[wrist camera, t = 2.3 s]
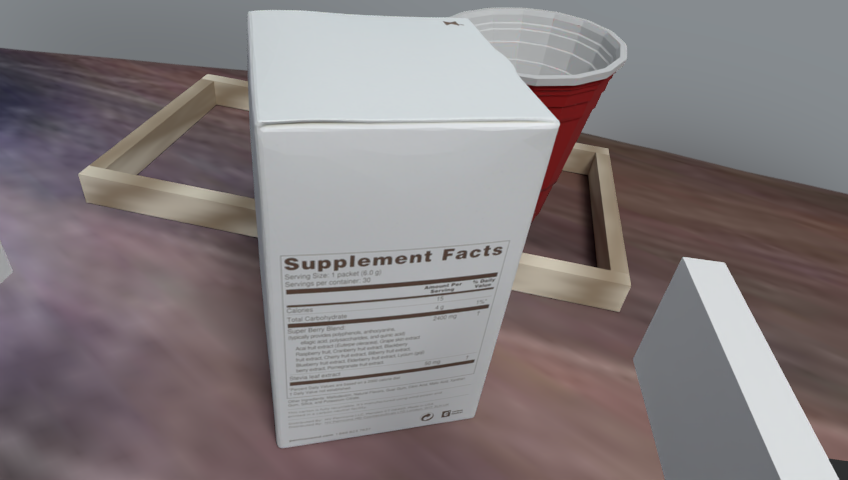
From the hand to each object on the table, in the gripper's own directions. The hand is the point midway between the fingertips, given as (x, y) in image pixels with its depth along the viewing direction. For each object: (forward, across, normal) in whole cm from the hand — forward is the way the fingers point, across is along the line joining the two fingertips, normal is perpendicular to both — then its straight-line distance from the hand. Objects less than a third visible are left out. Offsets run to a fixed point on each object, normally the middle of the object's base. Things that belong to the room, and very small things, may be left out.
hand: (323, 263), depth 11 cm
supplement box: (+10, 0, -14) cm, 18 cm away
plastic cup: (+25, +6, -14) cm, 29 cm away
